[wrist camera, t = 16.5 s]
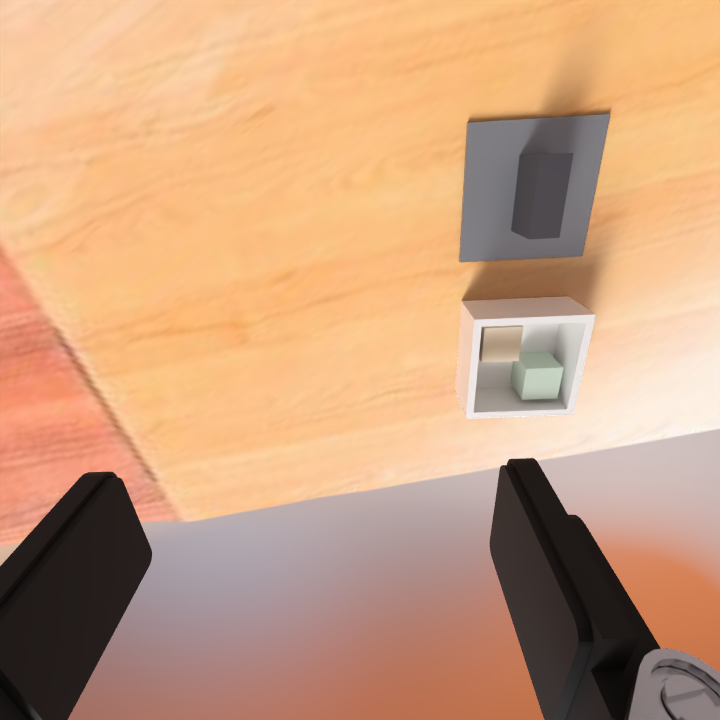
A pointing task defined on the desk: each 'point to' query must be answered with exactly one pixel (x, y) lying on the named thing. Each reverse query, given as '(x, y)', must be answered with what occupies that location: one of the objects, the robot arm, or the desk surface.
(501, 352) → the birch block
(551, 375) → the sage block
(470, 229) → the lid
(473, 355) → the storage box
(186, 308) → the desk surface
